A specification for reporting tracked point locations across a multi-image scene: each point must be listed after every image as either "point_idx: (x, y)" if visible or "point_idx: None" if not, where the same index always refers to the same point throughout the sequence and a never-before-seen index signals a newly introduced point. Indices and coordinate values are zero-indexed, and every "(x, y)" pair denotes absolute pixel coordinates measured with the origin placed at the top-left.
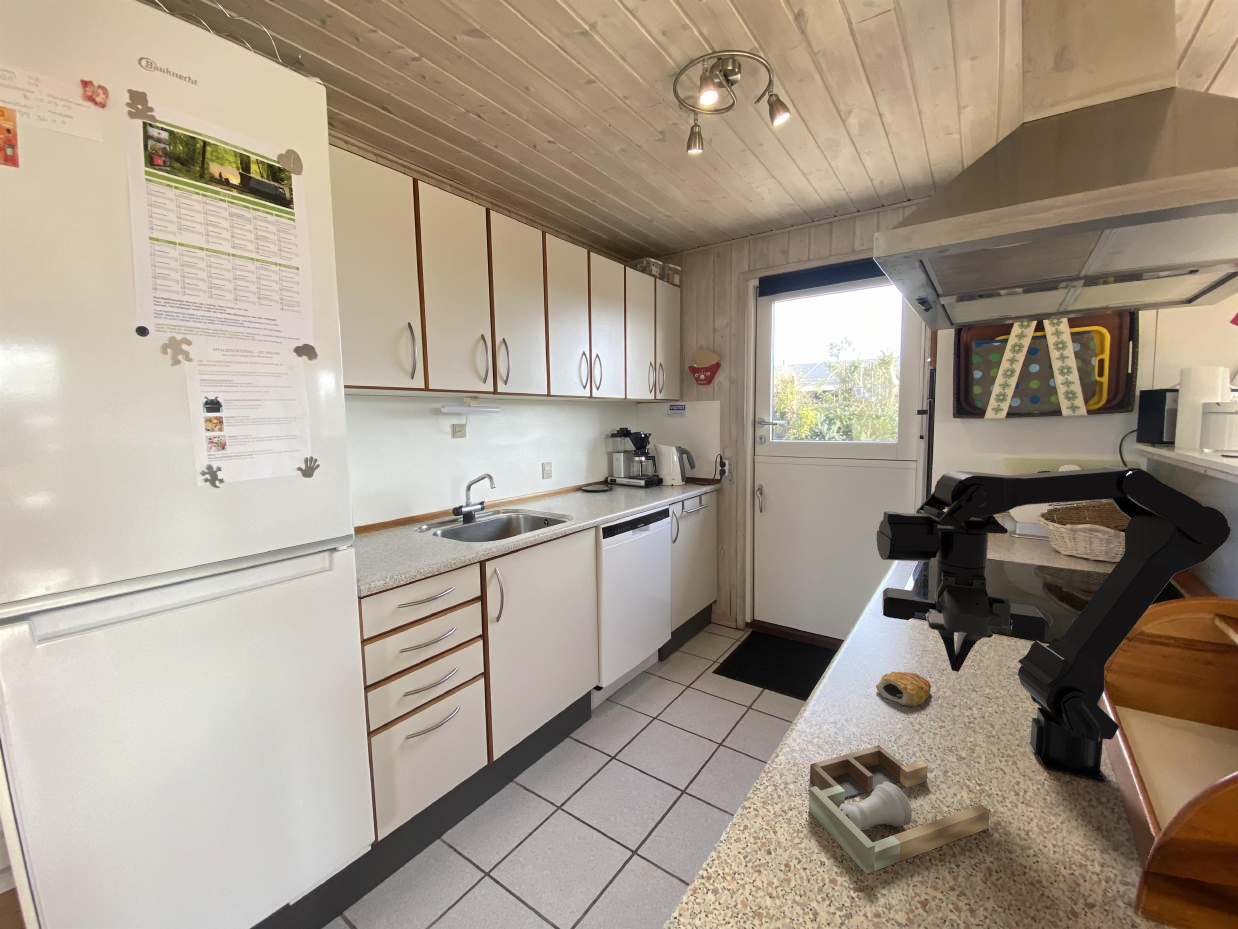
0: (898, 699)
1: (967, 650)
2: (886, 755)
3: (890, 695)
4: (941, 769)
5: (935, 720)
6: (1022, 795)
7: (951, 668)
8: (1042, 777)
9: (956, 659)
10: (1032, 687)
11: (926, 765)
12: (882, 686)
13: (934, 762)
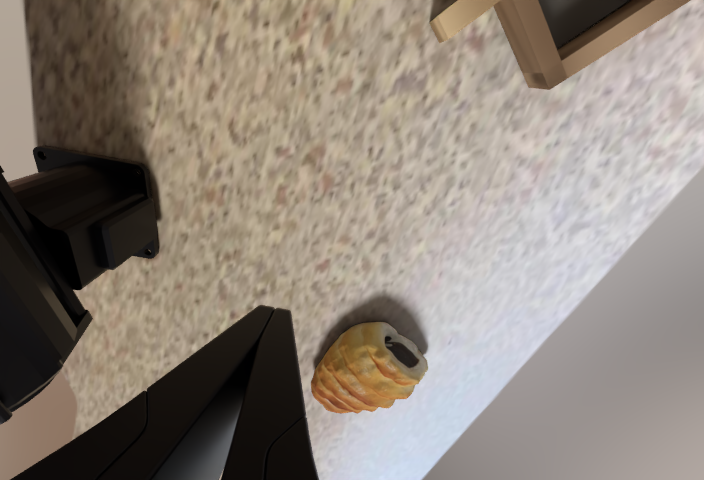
0: (392, 333)
1: (140, 411)
2: (550, 34)
3: (404, 344)
4: (373, 94)
5: (329, 285)
6: (209, 39)
7: (291, 317)
8: (156, 131)
9: (251, 358)
10: (9, 297)
11: (441, 14)
12: (420, 363)
13: (381, 121)
